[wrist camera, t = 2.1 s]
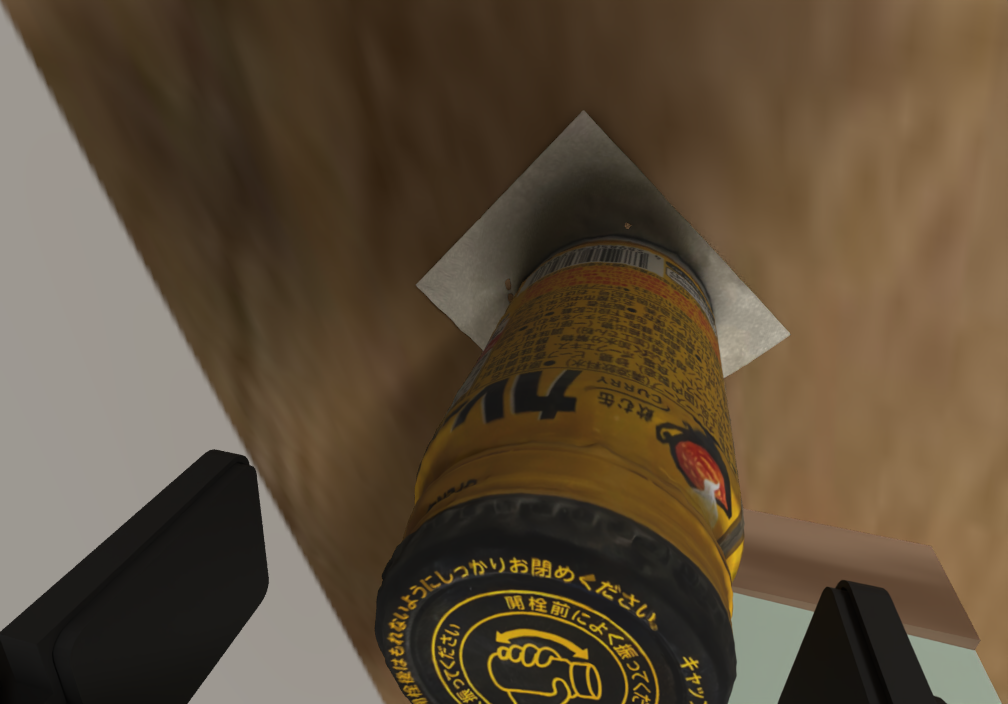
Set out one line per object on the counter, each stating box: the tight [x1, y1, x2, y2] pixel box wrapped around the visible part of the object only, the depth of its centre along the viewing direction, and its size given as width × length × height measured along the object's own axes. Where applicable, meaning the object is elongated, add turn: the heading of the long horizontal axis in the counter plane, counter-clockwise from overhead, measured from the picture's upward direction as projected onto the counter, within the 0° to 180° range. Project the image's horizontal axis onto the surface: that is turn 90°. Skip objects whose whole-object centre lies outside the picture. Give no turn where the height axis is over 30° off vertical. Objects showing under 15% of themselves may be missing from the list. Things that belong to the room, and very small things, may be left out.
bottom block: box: [732, 509, 981, 650], centre depth 22 cm, size 11×11×4 cm
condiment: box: [375, 110, 791, 704], centre depth 14 cm, size 7×8×12 cm
